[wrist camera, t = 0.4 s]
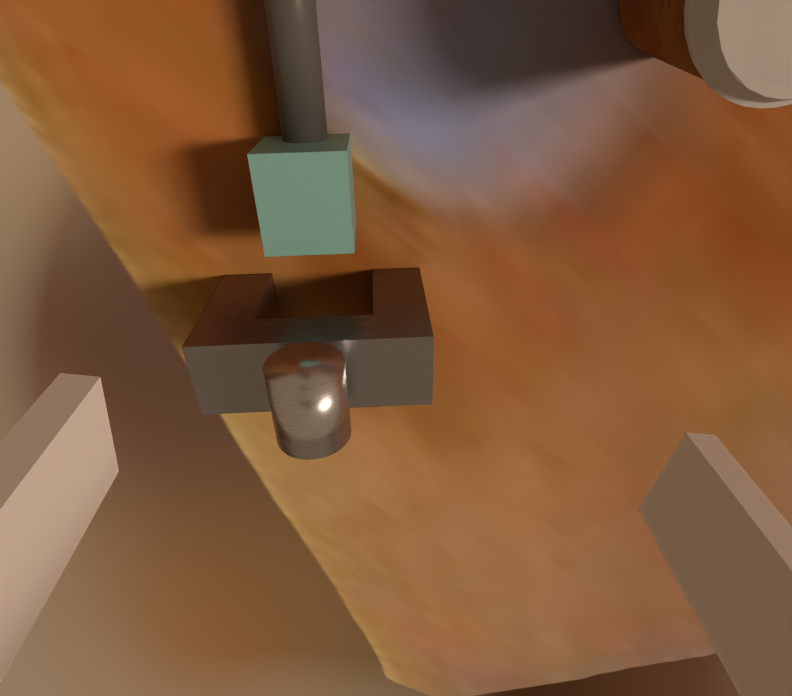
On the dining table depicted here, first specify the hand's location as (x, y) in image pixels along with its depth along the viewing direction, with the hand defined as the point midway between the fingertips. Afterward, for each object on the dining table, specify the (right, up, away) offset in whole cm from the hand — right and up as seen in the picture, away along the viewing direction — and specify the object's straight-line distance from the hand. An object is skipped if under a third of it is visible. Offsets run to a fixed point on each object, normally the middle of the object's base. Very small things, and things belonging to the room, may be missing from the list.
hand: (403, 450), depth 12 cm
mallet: (-6, +20, +18) cm, 28 cm away
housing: (-6, +6, +27) cm, 28 cm away
